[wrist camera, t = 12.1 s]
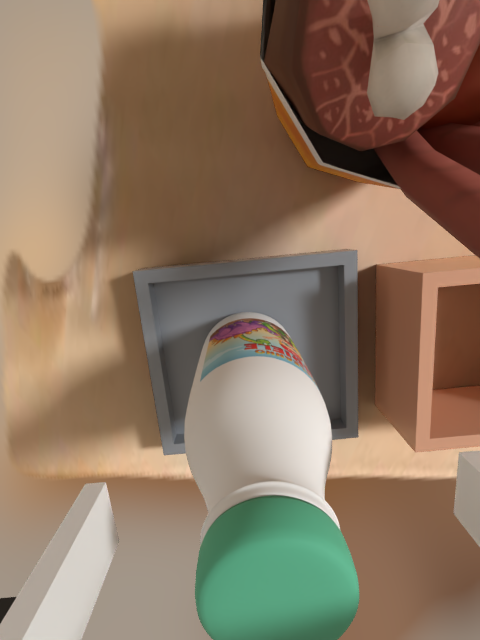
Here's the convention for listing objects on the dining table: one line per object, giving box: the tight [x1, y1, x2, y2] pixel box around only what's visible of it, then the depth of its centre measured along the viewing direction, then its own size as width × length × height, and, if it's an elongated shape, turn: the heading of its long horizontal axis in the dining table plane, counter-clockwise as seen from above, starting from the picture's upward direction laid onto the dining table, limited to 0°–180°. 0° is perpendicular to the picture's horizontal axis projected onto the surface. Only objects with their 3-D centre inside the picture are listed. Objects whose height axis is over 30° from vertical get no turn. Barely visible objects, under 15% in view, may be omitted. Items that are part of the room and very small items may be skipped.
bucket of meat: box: [260, 0, 480, 258], centre depth 15 cm, size 20×16×20 cm
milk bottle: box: [184, 312, 359, 640], centre depth 18 cm, size 8×8×20 cm
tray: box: [133, 249, 358, 455], centre depth 28 cm, size 16×17×2 cm
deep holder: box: [375, 255, 480, 452], centre depth 26 cm, size 13×13×7 cm
